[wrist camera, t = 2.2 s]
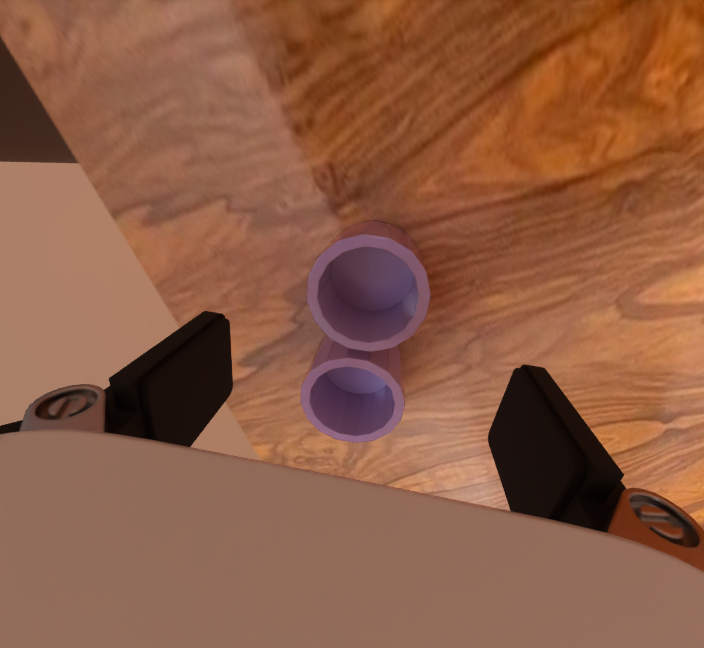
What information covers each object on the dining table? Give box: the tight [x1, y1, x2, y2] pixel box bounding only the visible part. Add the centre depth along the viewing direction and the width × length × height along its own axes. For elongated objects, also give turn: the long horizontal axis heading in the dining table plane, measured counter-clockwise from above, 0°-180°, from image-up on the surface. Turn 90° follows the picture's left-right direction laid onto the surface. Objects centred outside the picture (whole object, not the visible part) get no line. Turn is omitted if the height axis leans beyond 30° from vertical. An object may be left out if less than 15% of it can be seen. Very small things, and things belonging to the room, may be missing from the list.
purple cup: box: [301, 335, 405, 443], centre depth 22 cm, size 6×6×5 cm
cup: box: [307, 221, 431, 352], centre depth 19 cm, size 6×6×5 cm
